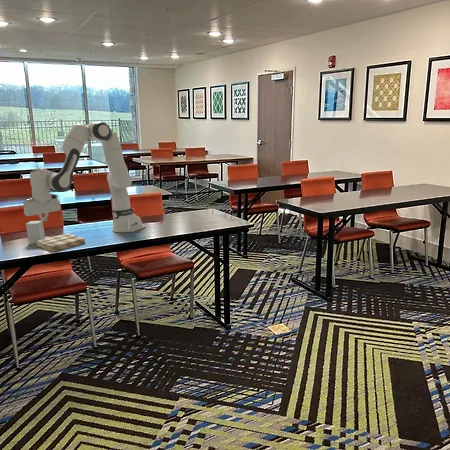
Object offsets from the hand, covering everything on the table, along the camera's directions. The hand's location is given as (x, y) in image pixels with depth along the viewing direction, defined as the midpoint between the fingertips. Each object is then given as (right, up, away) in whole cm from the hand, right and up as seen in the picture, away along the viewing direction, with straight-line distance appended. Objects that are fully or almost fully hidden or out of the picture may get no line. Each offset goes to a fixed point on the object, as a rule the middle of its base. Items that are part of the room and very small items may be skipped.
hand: (44, 220), depth 238 cm
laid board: (+12, -15, +2) cm, 19 cm away
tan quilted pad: (+5, -13, +8) cm, 16 cm away
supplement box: (-10, -13, +12) cm, 20 cm away
